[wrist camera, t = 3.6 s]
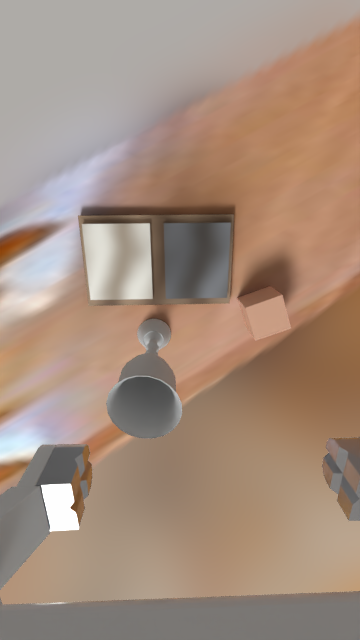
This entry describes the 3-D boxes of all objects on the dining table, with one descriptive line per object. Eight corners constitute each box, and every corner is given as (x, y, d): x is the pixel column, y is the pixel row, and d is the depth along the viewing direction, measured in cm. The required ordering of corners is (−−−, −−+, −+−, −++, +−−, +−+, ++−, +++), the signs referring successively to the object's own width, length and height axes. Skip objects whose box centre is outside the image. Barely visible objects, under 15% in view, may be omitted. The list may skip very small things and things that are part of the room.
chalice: (120, 333, 44) (90, 407, 27) (152, 302, 43) (140, 360, 26) (156, 363, 46) (148, 450, 29) (187, 335, 45) (197, 409, 28)
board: (90, 303, 43) (87, 307, 41) (80, 215, 39) (76, 215, 37) (228, 301, 43) (230, 304, 42) (232, 214, 39) (235, 214, 38)
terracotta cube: (246, 327, 45) (255, 340, 40) (237, 297, 43) (245, 307, 38) (278, 316, 44) (291, 328, 40) (270, 285, 43) (282, 294, 38)
